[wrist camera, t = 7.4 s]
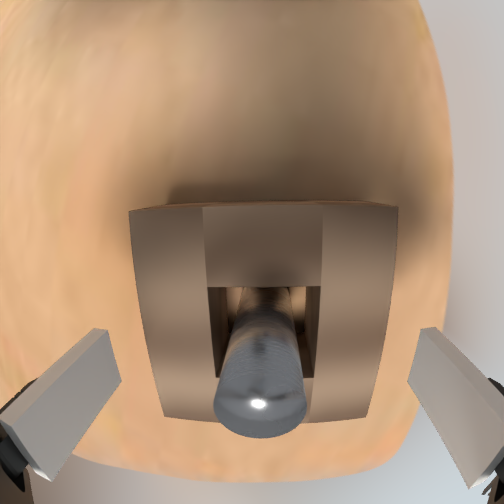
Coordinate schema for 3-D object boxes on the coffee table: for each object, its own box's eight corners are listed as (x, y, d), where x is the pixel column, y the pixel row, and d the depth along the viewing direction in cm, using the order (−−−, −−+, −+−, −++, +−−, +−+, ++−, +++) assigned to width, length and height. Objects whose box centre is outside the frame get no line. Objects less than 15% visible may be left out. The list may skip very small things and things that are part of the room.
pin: (240, 275, 18) (208, 372, 8) (289, 275, 18) (310, 373, 8) (242, 319, 18) (217, 436, 9) (289, 319, 18) (303, 437, 8)
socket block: (165, 204, 17) (128, 211, 12) (363, 201, 16) (398, 206, 11) (184, 372, 20) (164, 416, 15) (348, 371, 19) (365, 417, 14)
